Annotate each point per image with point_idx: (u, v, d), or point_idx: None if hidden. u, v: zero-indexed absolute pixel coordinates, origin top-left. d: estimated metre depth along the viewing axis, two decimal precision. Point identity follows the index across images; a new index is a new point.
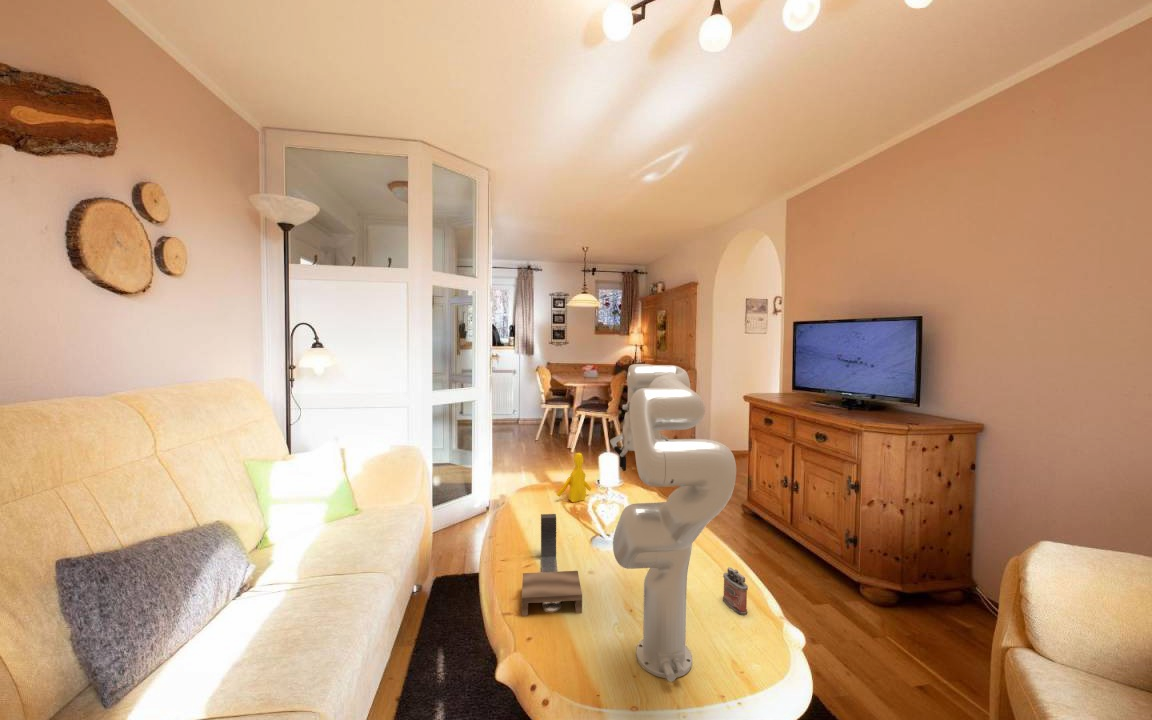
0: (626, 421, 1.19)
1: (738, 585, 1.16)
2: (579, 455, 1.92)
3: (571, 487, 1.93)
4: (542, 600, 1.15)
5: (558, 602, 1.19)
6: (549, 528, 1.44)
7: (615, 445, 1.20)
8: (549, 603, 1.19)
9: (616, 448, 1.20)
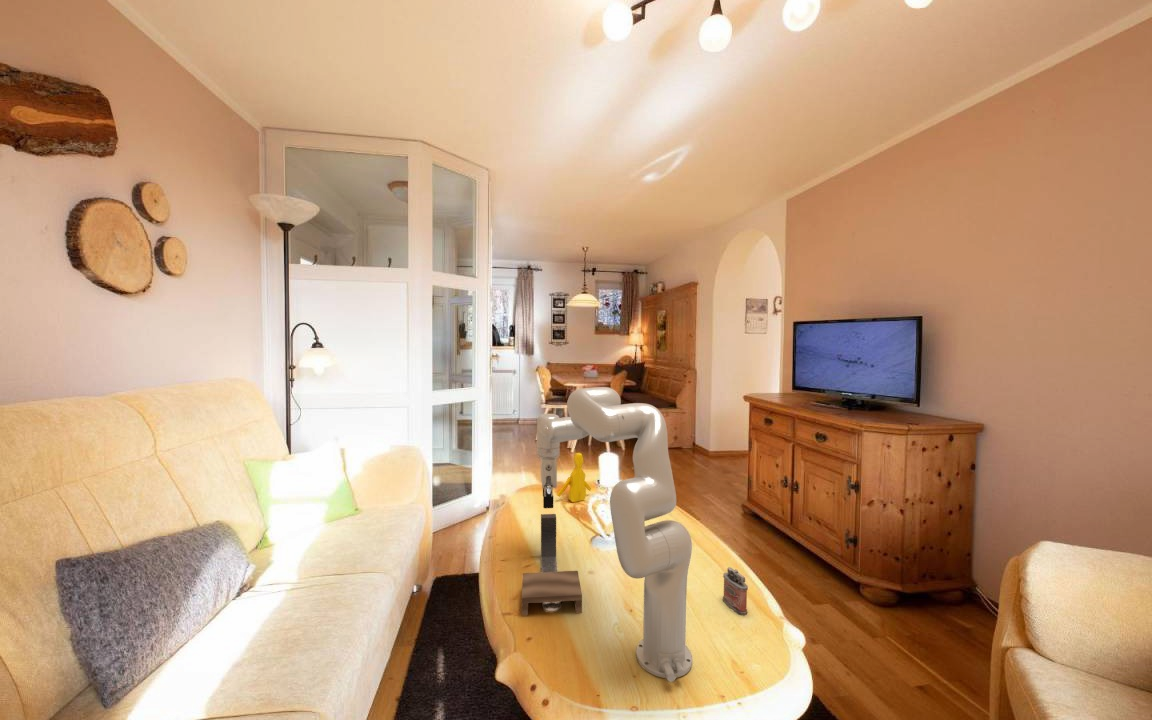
0: (554, 465, 1.40)
1: (738, 585, 1.16)
2: (579, 455, 1.92)
3: (571, 487, 1.93)
4: (542, 600, 1.15)
5: (558, 602, 1.19)
6: (549, 528, 1.44)
7: None
8: (549, 603, 1.19)
9: (551, 491, 1.38)
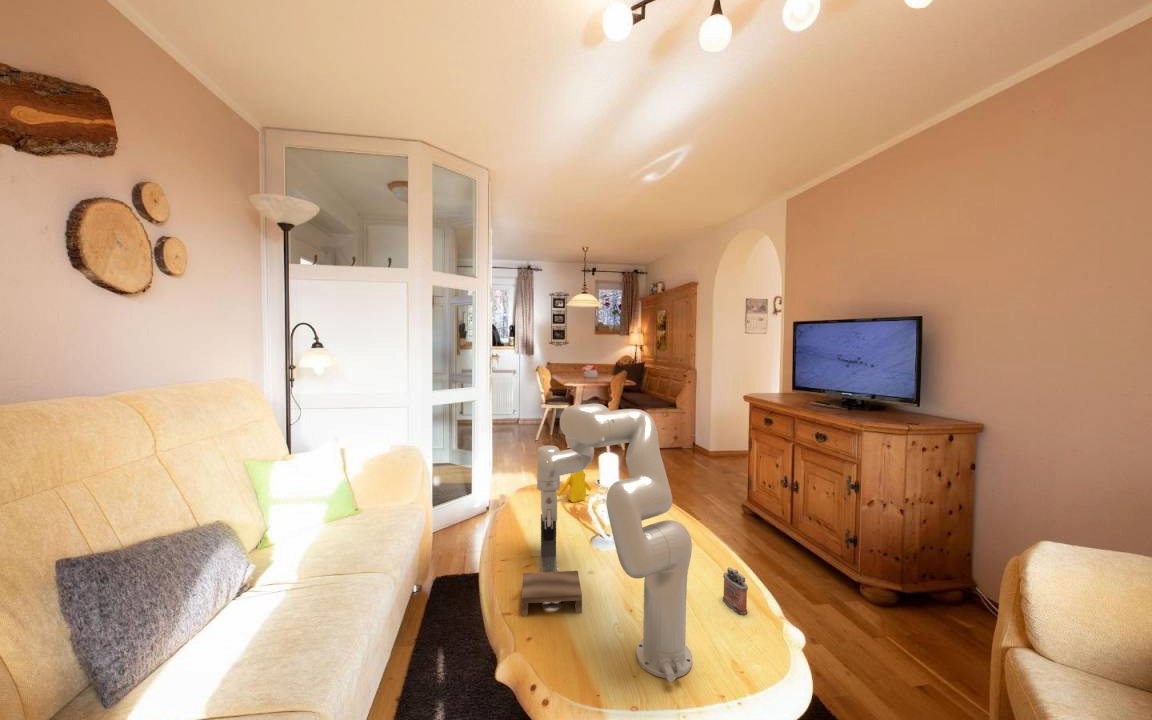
0: (554, 497, 1.40)
1: (738, 585, 1.16)
2: None
3: (571, 487, 1.93)
4: (542, 600, 1.15)
5: (558, 602, 1.19)
6: None
7: None
8: (549, 603, 1.19)
9: (551, 524, 1.41)
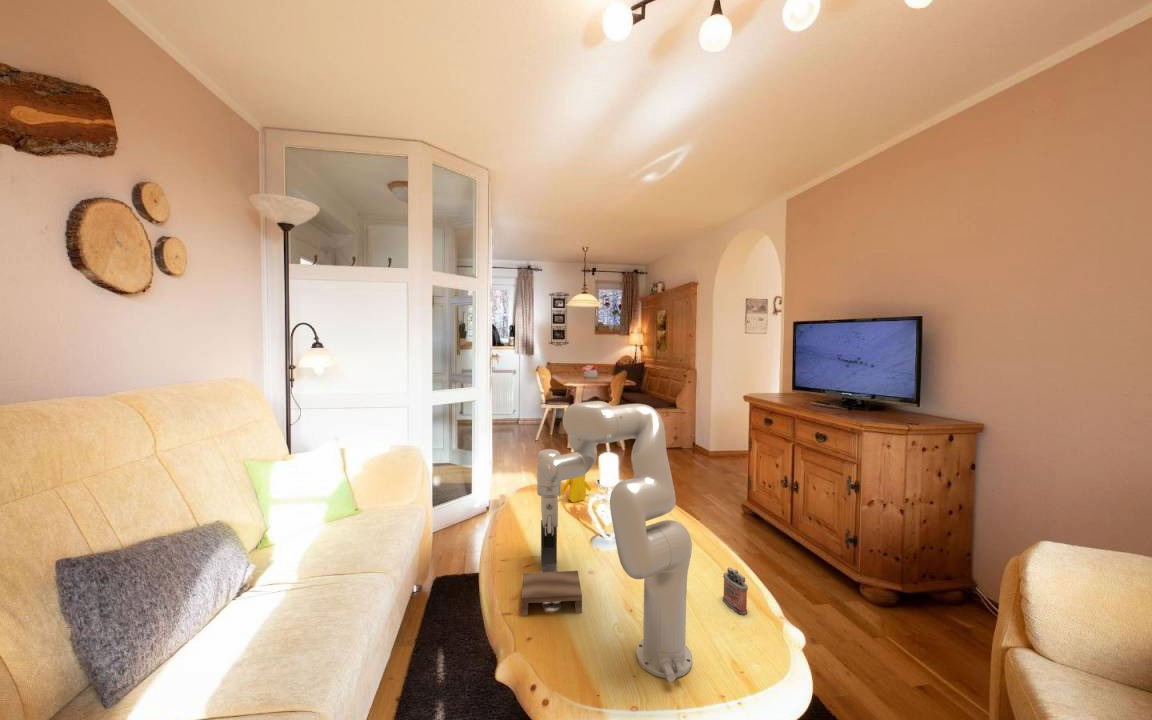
0: (555, 503, 1.36)
1: (738, 585, 1.16)
2: None
3: (571, 487, 1.93)
4: (542, 600, 1.15)
5: (558, 602, 1.19)
6: None
7: None
8: (549, 603, 1.19)
9: (552, 531, 1.36)
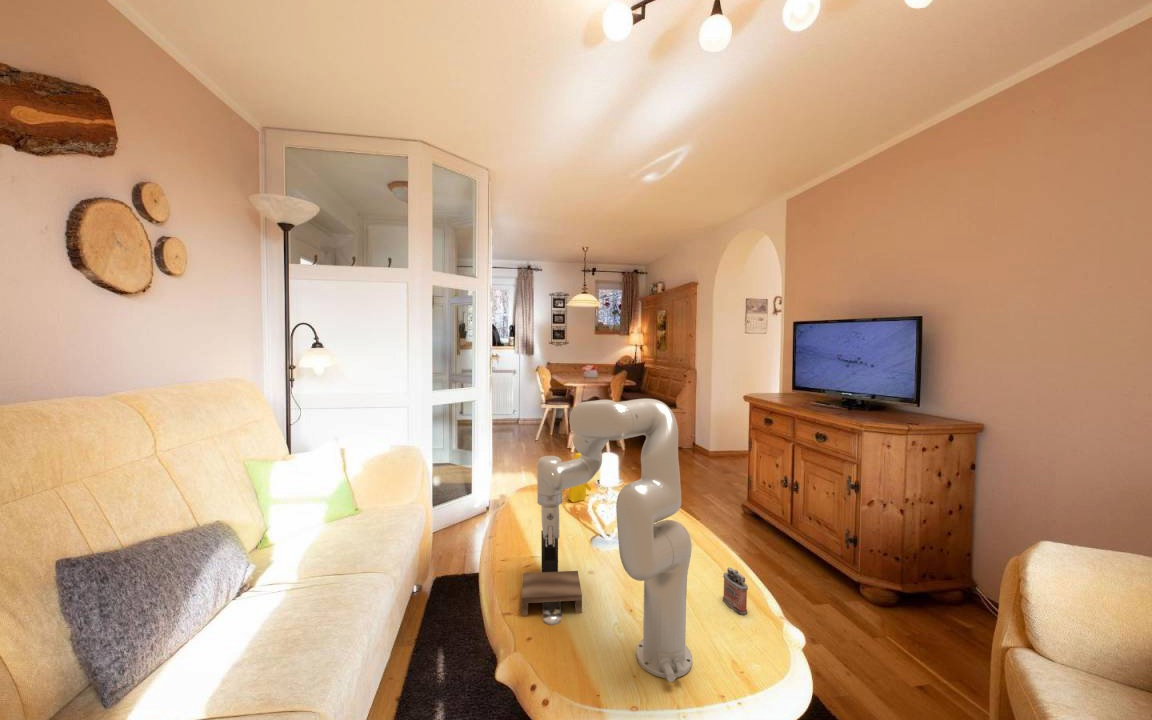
0: (556, 513, 1.28)
1: (738, 585, 1.16)
2: (579, 455, 1.92)
3: (571, 487, 1.93)
4: (542, 600, 1.15)
5: (559, 614, 1.14)
6: None
7: None
8: (550, 615, 1.14)
9: (553, 542, 1.29)
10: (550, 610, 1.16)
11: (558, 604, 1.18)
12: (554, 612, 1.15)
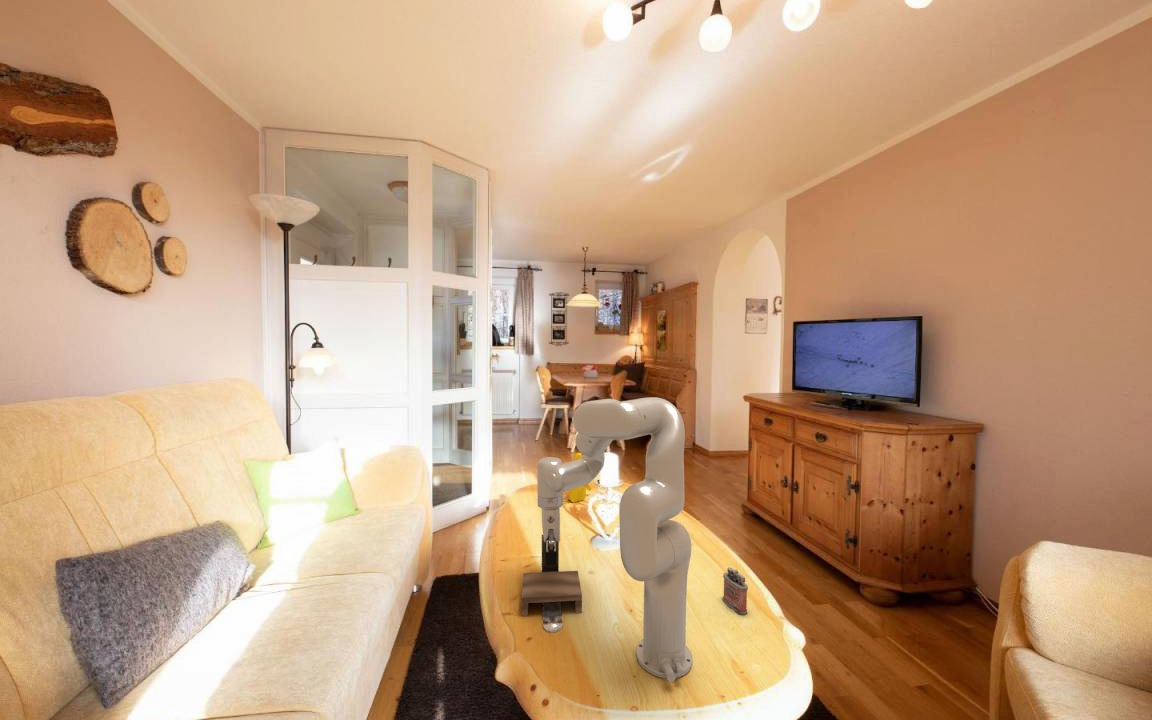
0: (557, 516, 1.25)
1: (738, 585, 1.16)
2: (579, 455, 1.92)
3: None
4: (542, 600, 1.15)
5: (560, 621, 1.11)
6: None
7: None
8: (550, 622, 1.11)
9: (554, 546, 1.23)
10: (550, 617, 1.13)
11: (559, 611, 1.16)
12: (554, 619, 1.12)
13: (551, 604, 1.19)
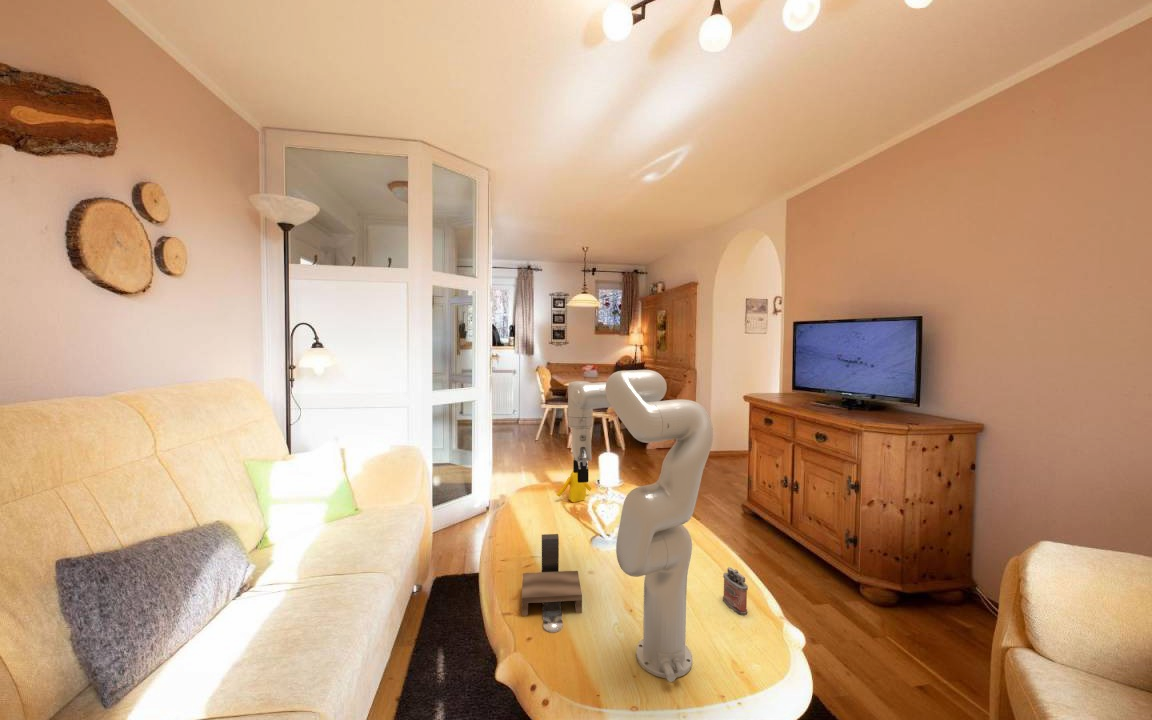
0: (588, 435, 1.29)
1: (738, 585, 1.16)
2: None
3: (571, 487, 1.93)
4: (542, 600, 1.15)
5: (560, 621, 1.11)
6: (550, 550, 1.29)
7: None
8: (550, 622, 1.11)
9: (587, 463, 1.26)
10: (549, 617, 1.13)
11: (559, 611, 1.16)
12: (554, 619, 1.12)
13: (551, 604, 1.19)
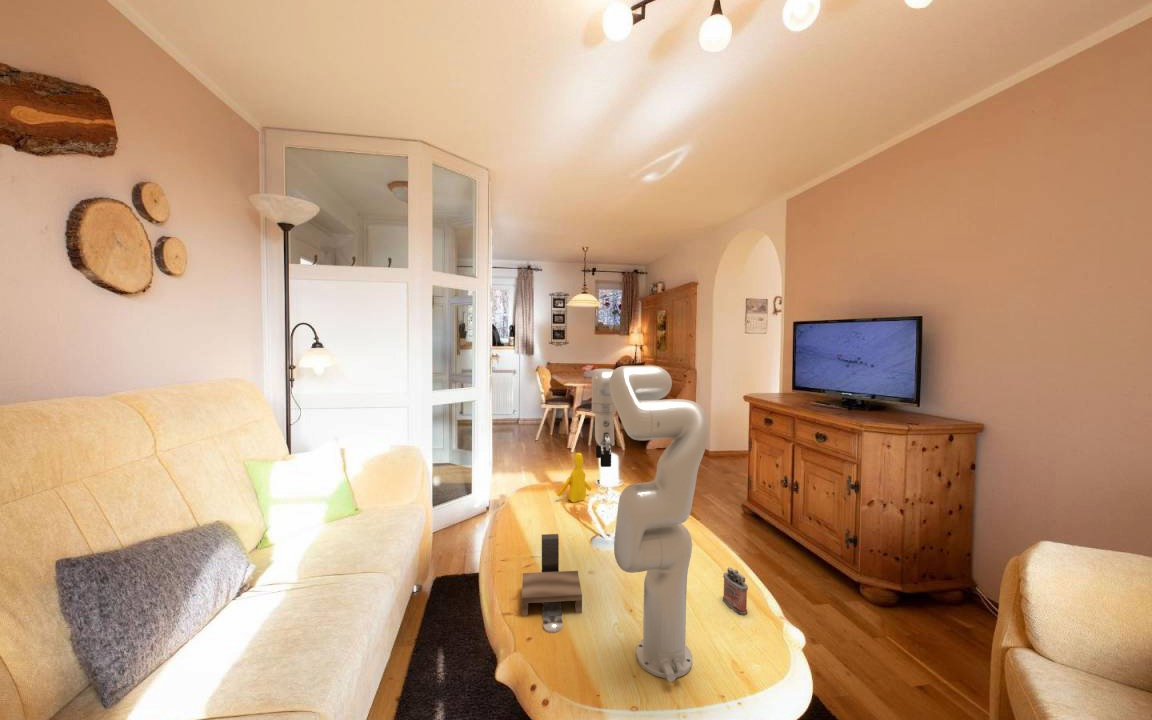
0: (611, 421, 1.32)
1: (738, 585, 1.16)
2: (579, 455, 1.92)
3: (571, 487, 1.93)
4: (542, 600, 1.15)
5: (560, 620, 1.12)
6: (550, 550, 1.29)
7: None
8: (550, 622, 1.11)
9: (610, 448, 1.30)
10: (549, 617, 1.13)
11: (559, 611, 1.16)
12: (554, 619, 1.12)
13: (551, 604, 1.19)
